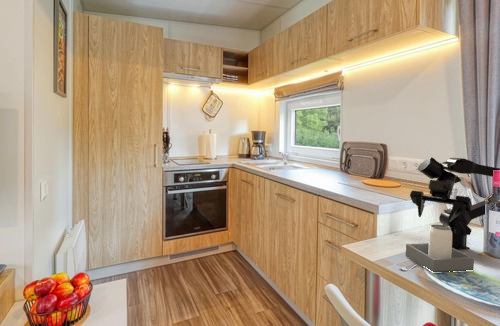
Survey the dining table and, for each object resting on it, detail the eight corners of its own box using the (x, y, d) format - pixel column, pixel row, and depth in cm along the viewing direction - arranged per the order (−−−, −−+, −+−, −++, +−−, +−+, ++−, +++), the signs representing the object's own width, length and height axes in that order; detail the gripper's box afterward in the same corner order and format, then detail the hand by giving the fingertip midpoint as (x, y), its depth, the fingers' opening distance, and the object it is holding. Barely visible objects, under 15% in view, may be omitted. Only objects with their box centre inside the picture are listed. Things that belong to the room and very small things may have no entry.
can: (455, 263, 92) (457, 228, 91) (442, 267, 90) (443, 231, 89) (436, 256, 98) (438, 223, 97) (423, 259, 96) (424, 225, 95)
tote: (440, 254, 102) (441, 242, 101) (473, 271, 88) (474, 258, 88) (405, 255, 101) (406, 243, 100) (433, 273, 87) (433, 259, 87)
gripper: (412, 170, 109) (400, 201, 103) (471, 174, 95) (461, 211, 89) (418, 187, 115) (407, 218, 109) (475, 193, 101) (466, 229, 94)
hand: (433, 219), depth 100 cm, fingers open, 9 cm apart
